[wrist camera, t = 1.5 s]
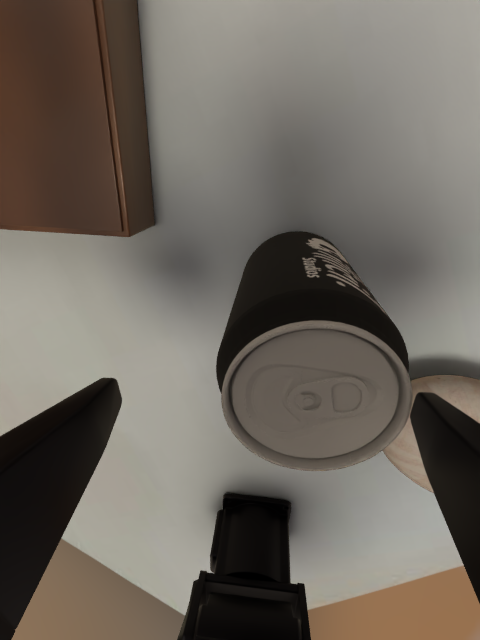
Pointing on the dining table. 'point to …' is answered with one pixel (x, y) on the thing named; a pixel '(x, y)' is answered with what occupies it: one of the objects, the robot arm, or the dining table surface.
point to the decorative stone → (403, 451)
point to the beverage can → (311, 360)
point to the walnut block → (73, 118)
